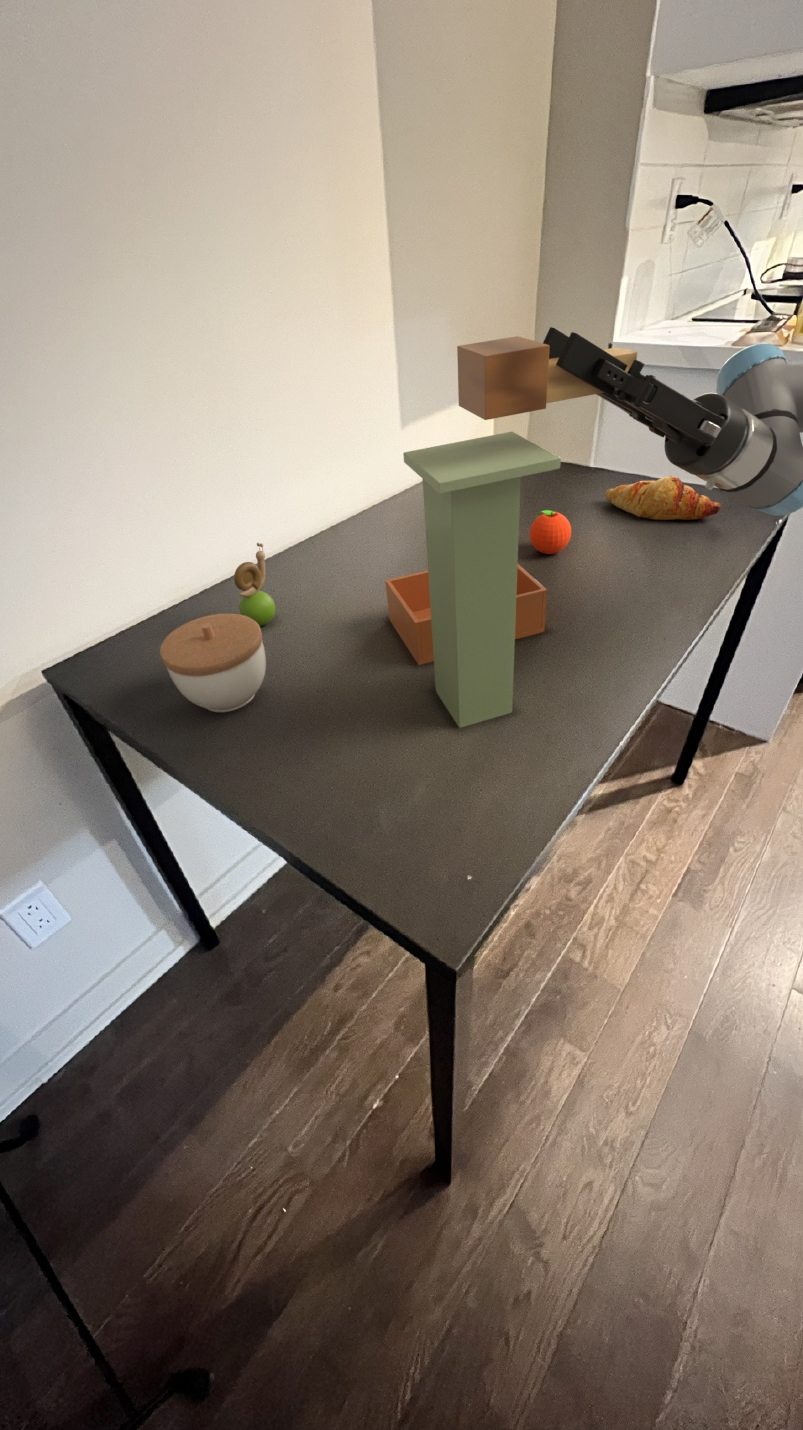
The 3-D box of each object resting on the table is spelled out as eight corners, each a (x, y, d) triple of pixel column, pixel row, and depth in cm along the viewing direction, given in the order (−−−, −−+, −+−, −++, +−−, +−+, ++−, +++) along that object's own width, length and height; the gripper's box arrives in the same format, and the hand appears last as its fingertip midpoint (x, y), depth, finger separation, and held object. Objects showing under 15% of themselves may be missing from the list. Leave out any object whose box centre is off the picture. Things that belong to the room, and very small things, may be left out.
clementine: (517, 547, 111) (519, 508, 106) (550, 537, 113) (553, 499, 108) (543, 564, 105) (546, 524, 101) (577, 554, 107) (581, 513, 103)
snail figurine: (290, 616, 99) (273, 545, 91) (260, 636, 95) (241, 563, 88) (266, 608, 102) (248, 539, 94) (237, 627, 98) (216, 556, 90)
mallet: (606, 378, 62) (612, 320, 59) (642, 390, 58) (651, 327, 55) (458, 405, 59) (457, 345, 56) (485, 420, 55) (485, 355, 52)
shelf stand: (505, 667, 84) (512, 431, 65) (542, 710, 76) (561, 457, 57) (422, 690, 81) (403, 452, 62) (450, 736, 74) (439, 482, 55)
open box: (503, 591, 99) (504, 552, 95) (544, 632, 89) (547, 589, 85) (389, 620, 96) (385, 580, 91) (418, 665, 86) (415, 622, 81)
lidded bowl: (284, 708, 81) (265, 636, 74) (186, 737, 78) (156, 665, 71) (266, 659, 90) (247, 591, 83) (178, 683, 87) (151, 614, 80)
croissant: (596, 524, 123) (592, 495, 117) (617, 485, 126) (613, 455, 119) (709, 542, 112) (711, 512, 106) (729, 499, 115) (732, 467, 108)
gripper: (747, 499, 63) (581, 407, 52) (649, 455, 75) (496, 374, 64) (798, 424, 60) (632, 308, 48) (687, 391, 72) (532, 293, 60)
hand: (555, 346), depth 56 cm, fingers closed on mallet, 3 cm apart
